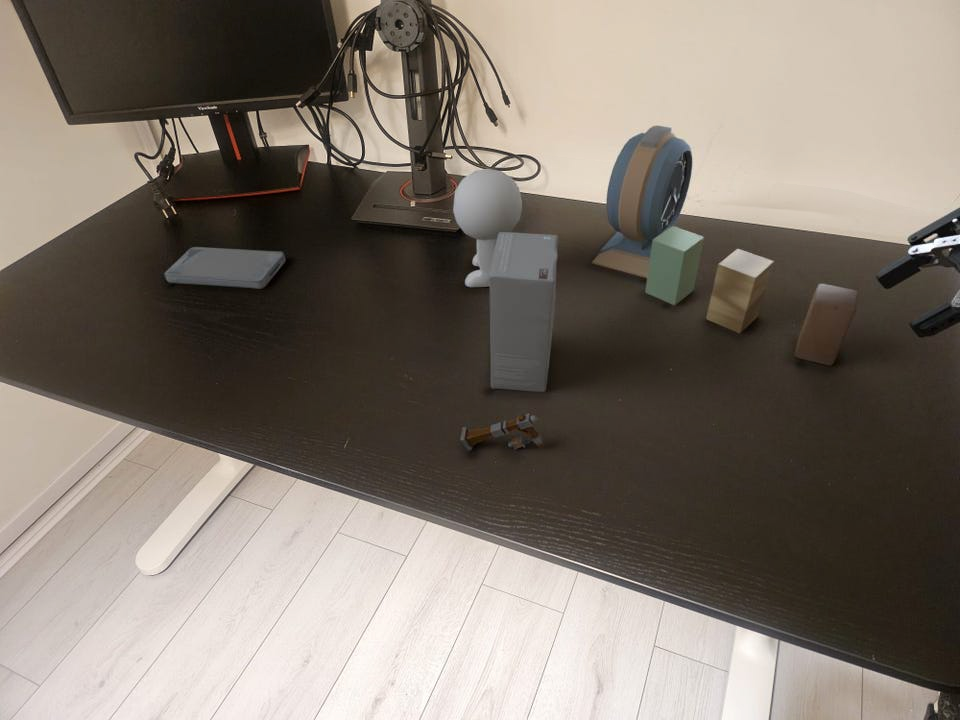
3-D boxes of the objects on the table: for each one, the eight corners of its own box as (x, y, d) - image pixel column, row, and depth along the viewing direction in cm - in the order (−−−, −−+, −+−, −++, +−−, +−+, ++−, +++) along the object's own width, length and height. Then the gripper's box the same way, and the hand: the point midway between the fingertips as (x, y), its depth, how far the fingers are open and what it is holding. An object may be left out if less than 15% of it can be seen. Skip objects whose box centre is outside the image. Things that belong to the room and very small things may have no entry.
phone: (263, 289, 87) (260, 282, 86) (164, 282, 90) (160, 275, 89) (287, 259, 93) (285, 251, 92) (194, 253, 96) (191, 246, 95)
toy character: (466, 254, 91) (458, 156, 81) (527, 257, 89) (526, 158, 79) (453, 289, 84) (442, 187, 74) (518, 293, 82) (516, 189, 73)
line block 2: (757, 316, 76) (774, 261, 70) (739, 334, 73) (755, 278, 68) (724, 302, 78) (737, 248, 73) (705, 319, 76) (718, 264, 71)
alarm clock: (655, 285, 82) (674, 157, 70) (588, 266, 86) (596, 143, 75) (691, 236, 91) (713, 115, 79) (628, 222, 95) (641, 105, 83)
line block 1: (693, 290, 81) (704, 236, 75) (674, 305, 78) (684, 251, 73) (664, 278, 83) (672, 225, 78) (644, 292, 81) (652, 239, 76)
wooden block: (832, 367, 68) (856, 310, 63) (793, 358, 70) (814, 301, 64) (835, 346, 71) (859, 289, 65) (798, 337, 72) (818, 281, 67)
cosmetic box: (497, 344, 75) (491, 228, 64) (556, 346, 74) (559, 229, 63) (488, 392, 68) (480, 273, 58) (552, 396, 67) (555, 275, 57)
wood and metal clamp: (551, 448, 61) (532, 419, 58) (480, 466, 64) (459, 438, 61) (551, 435, 62) (533, 405, 59) (482, 452, 65) (461, 425, 62)
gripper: (1016, 146, 60) (853, 249, 69) (1117, 217, 49) (908, 328, 58) (1046, 195, 63) (885, 288, 72) (1147, 272, 52) (944, 370, 61)
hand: (896, 306), depth 65 cm, fingers open, 8 cm apart
